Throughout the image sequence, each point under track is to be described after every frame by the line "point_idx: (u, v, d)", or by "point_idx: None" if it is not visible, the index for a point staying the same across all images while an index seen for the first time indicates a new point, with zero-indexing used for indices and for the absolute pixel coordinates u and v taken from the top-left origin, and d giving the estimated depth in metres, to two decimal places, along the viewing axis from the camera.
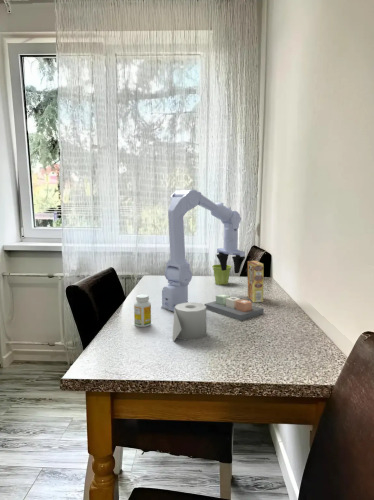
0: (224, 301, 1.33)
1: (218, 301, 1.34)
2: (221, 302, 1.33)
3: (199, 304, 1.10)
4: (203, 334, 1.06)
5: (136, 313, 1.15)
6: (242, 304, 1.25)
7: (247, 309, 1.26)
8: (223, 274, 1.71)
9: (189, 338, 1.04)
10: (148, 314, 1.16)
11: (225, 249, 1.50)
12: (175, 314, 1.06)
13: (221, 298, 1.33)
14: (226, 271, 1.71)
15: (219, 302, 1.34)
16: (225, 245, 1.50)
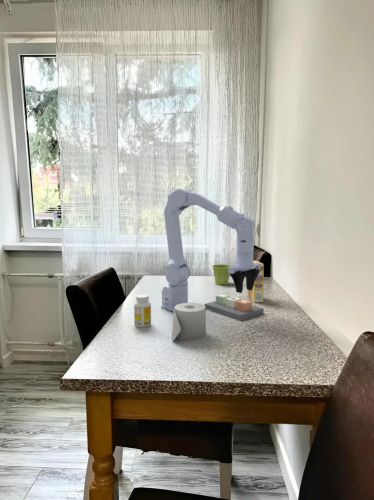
0: (224, 301, 1.33)
1: (218, 301, 1.34)
2: (221, 302, 1.33)
3: (198, 304, 1.10)
4: (202, 334, 1.06)
5: (136, 313, 1.15)
6: (242, 304, 1.25)
7: (247, 309, 1.26)
8: (223, 274, 1.71)
9: (188, 338, 1.04)
10: (148, 314, 1.16)
11: None
12: (174, 314, 1.06)
13: (221, 298, 1.33)
14: (226, 271, 1.71)
15: (219, 302, 1.34)
16: None
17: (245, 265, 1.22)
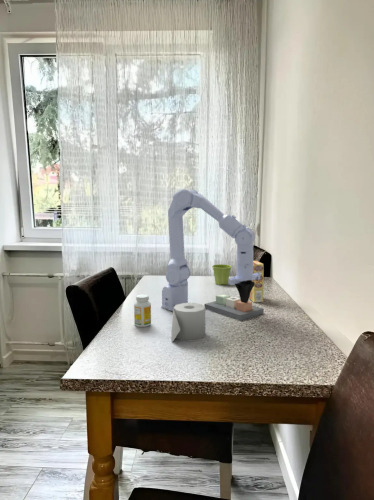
0: (224, 301, 1.33)
1: (218, 301, 1.34)
2: (221, 302, 1.33)
3: (198, 304, 1.10)
4: (202, 335, 1.06)
5: (136, 313, 1.15)
6: (242, 304, 1.25)
7: (247, 309, 1.26)
8: (223, 274, 1.71)
9: (188, 339, 1.04)
10: (148, 314, 1.16)
11: None
12: (174, 314, 1.05)
13: (221, 298, 1.33)
14: (226, 271, 1.71)
15: (219, 302, 1.34)
16: None
17: (245, 276, 1.23)
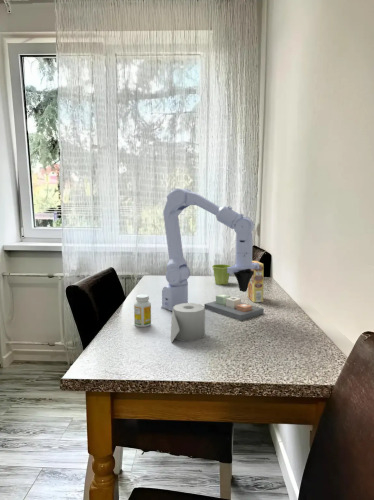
0: (224, 301, 1.33)
1: (218, 301, 1.34)
2: (221, 302, 1.33)
3: (197, 305, 1.09)
4: (201, 335, 1.05)
5: (136, 313, 1.15)
6: (242, 308, 1.25)
7: None
8: (223, 274, 1.71)
9: (187, 339, 1.04)
10: (148, 314, 1.16)
11: None
12: (173, 315, 1.05)
13: (221, 298, 1.33)
14: (226, 271, 1.71)
15: (219, 302, 1.34)
16: None
17: (244, 265, 1.23)
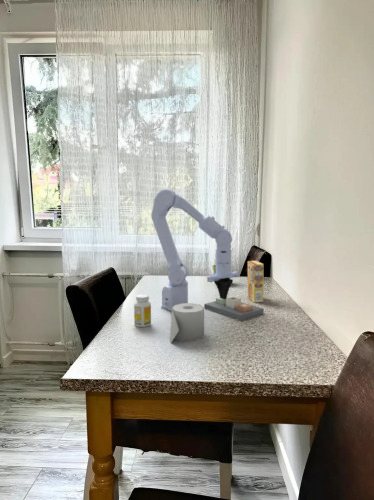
0: (224, 304, 1.33)
1: (218, 303, 1.35)
2: None
3: (197, 305, 1.09)
4: (201, 335, 1.05)
5: (136, 313, 1.15)
6: (242, 308, 1.25)
7: None
8: None
9: (187, 339, 1.03)
10: (148, 314, 1.16)
11: None
12: (172, 315, 1.05)
13: (221, 301, 1.33)
14: None
15: (219, 304, 1.34)
16: None
17: (223, 274, 1.31)
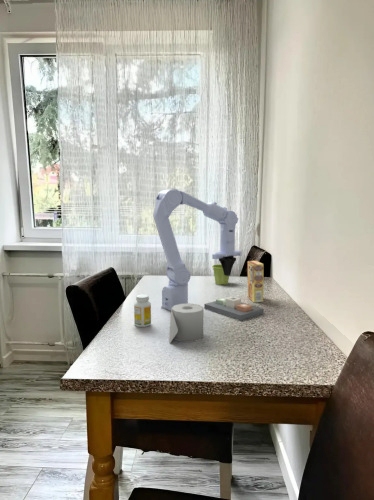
0: None
1: None
2: None
3: (196, 305, 1.09)
4: (200, 335, 1.05)
5: (136, 313, 1.15)
6: (242, 308, 1.25)
7: None
8: (223, 274, 1.71)
9: (186, 340, 1.03)
10: (148, 314, 1.16)
11: None
12: (172, 315, 1.05)
13: (221, 302, 1.33)
14: None
15: None
16: None
17: (227, 252, 1.40)
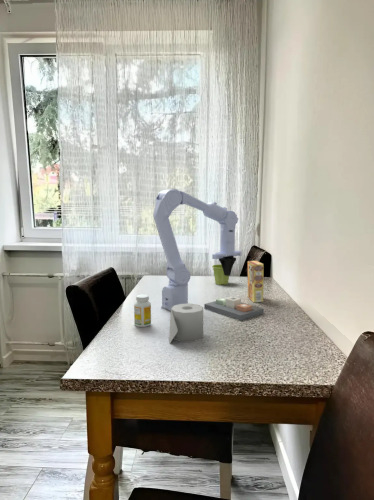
0: None
1: None
2: None
3: (196, 305, 1.09)
4: (200, 336, 1.05)
5: (136, 313, 1.15)
6: (242, 308, 1.25)
7: None
8: (223, 274, 1.71)
9: (186, 340, 1.03)
10: (148, 314, 1.16)
11: None
12: (171, 315, 1.05)
13: (221, 302, 1.33)
14: None
15: None
16: None
17: (227, 252, 1.40)
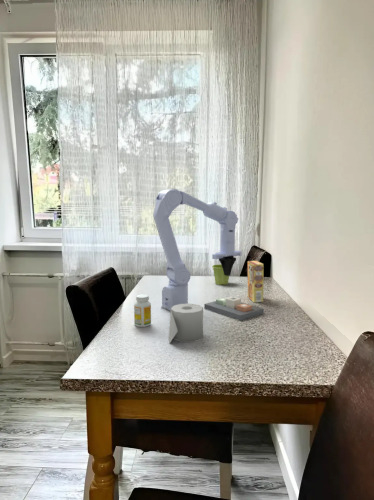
0: None
1: None
2: None
3: (196, 305, 1.09)
4: (200, 336, 1.05)
5: (136, 313, 1.15)
6: (242, 308, 1.25)
7: None
8: (223, 274, 1.71)
9: (185, 340, 1.03)
10: (148, 314, 1.16)
11: None
12: (171, 315, 1.05)
13: (221, 302, 1.33)
14: None
15: None
16: None
17: (227, 252, 1.40)
